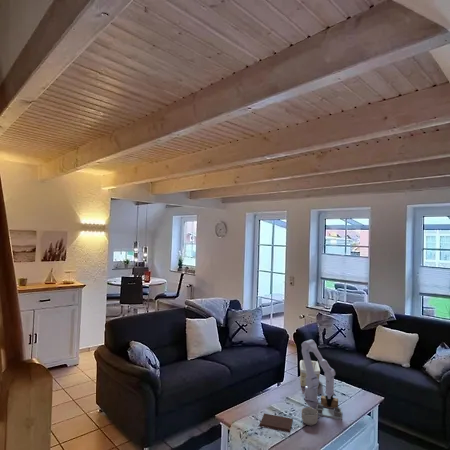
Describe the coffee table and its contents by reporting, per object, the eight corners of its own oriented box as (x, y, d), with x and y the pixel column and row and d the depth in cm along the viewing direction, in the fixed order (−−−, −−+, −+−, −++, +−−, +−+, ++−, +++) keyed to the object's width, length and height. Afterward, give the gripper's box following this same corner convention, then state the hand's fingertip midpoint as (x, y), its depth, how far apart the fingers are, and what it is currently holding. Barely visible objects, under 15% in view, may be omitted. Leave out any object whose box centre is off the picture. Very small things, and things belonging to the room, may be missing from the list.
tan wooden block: (320, 405, 256) (320, 397, 257) (321, 403, 260) (321, 395, 260) (337, 409, 252) (337, 401, 252) (338, 406, 256) (338, 398, 256)
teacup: (314, 429, 226) (315, 416, 226) (298, 424, 231) (299, 412, 232) (321, 419, 237) (321, 407, 238) (305, 415, 243) (305, 403, 243)
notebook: (264, 415, 242) (264, 412, 242) (292, 420, 236) (292, 417, 236) (259, 426, 228) (259, 423, 228) (289, 432, 222) (289, 429, 222)
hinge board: (314, 414, 244) (314, 409, 244) (316, 407, 253) (316, 402, 254) (341, 419, 238) (341, 414, 238) (342, 412, 247) (342, 407, 247)
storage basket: (299, 375, 310) (299, 359, 311) (318, 377, 307) (318, 360, 308) (300, 387, 287) (300, 369, 287) (320, 389, 284) (320, 371, 284)
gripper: (334, 391, 248) (334, 410, 248) (335, 382, 262) (335, 401, 261) (324, 389, 251) (324, 408, 250) (326, 381, 264) (325, 399, 264)
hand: (329, 404), depth 256 cm, fingers closed on tan wooden block, 4 cm apart
